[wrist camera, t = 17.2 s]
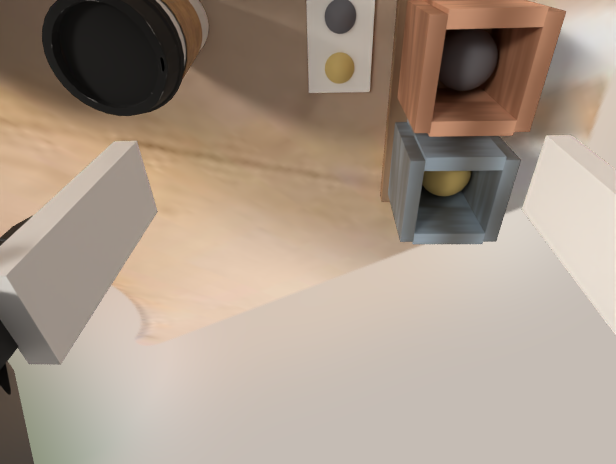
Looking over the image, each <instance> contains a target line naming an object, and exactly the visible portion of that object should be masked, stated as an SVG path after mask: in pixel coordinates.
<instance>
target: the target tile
mask: <svg viewBox="0 0 616 464" xmlns="http://www.w3.org/2000/svg"><path fill="white" fill-rule="evenodd" d="M306 5H307V43H308V80H309V93H338V92H370V77H371V60H372V43H373V27H374V10H375V0H306Z"/></svg>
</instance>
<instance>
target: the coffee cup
mask: <svg viewBox="0 0 616 464" xmlns="http://www.w3.org/2000/svg"><path fill="white" fill-rule="evenodd" d="M208 32H209V24H208V18H207V15H206V12H205V10H204V8H203V6H202V4H201V3H200V1H199V0H57V1H56V2H55V3H54V4H53V5H52V6H51V7H50V9H49V11H48V12H47V14H46V16H45V19H44V24H43V28H42V42H43V47H44V52H45V55H46V58H47V60H48V63H49V65H50V67H51V69H52V70H53V72H54V74H55V76H56V77H57V78H58V80H59V81H60V82H61V83H62V85H63V86H64V87H65V88H66V89H67V90H68V91H69V92H70V93H71V94H72V95H73V96H75V97H76V98H78V99H79V100H80V101H82V102H83V103H85V104H86V105H88V106H90V107H92V108H94V109H96V110H99V111H102V112H105V113H108V114H113V115H118V116H131V115H137V114H143V113H147V112H151V111H153V110H156V109H158V108H160V107H161V106H163V105H165V104H166V103H167V102H168V101H170V100H171V99H172V98H173V96H174V95H175V93H176V92H177V91H178V89H179V86H180V84H181V81H182V79H183V77H184V76H185V74H186V72H187V71H188V69H189V68H190V66H191V64H192V63H193V61H194V60H195V58H196V57H197V55H198V53H199V51H200V50H201V49H202V47H203V46H204V44H205V42H206V40H207V37H208Z"/></svg>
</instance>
